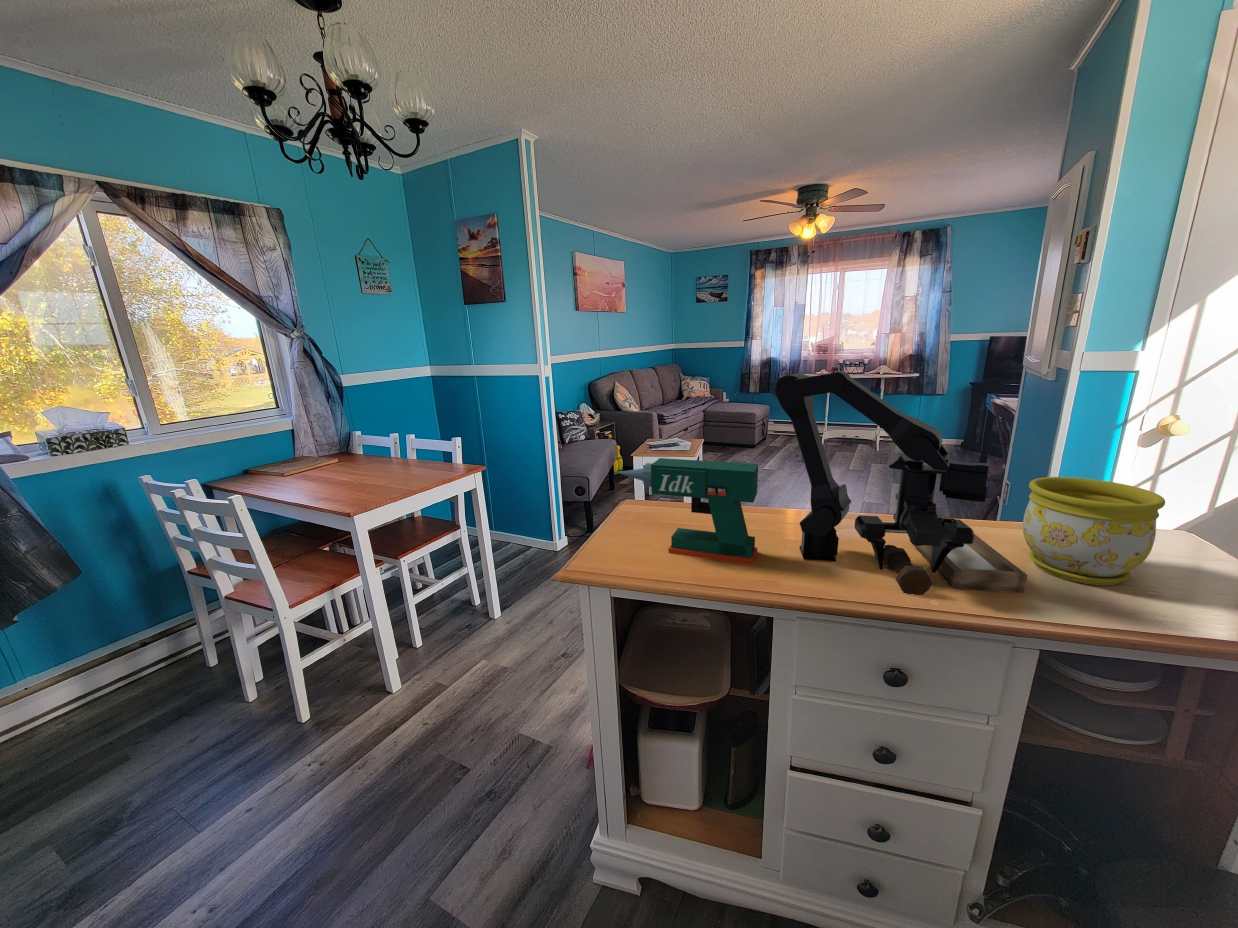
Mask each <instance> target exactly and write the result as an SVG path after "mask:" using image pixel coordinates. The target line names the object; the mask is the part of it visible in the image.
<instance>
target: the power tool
mask: <svg viewBox="0 0 1238 928" xmlns="http://www.w3.org/2000/svg"><path fill="white" fill-rule="evenodd" d="M615 474H619V475H622V476H625V477H629V478H632V479H635V480H639V481H640V482H641V481H642V484H643V485H644V487H647V488H648V487H650V489H651V494H652V495H660V496H661V495H663V496H664V495H665V496H673V497H674V496H675V497H687V498H690V499H691V501H690V502H691V505H690V506H691V507H690V508H691V509H690V510H691V513H695V514H702V515H703V514H704V515H705V514H706V515H711V518H712V523H713V526H714V530H715V531H711V530H710V531H708V530H700V529H691V528H683V527H678V528H676V530H675V531H674V533H673V534H672V536H671V544H670V546H669V547H668V549H667V550H668V554H673V555H679V556H680V555H681V556H687V557H688V556H689V557H696V558H702V559H708V560H709V559H710V560H717V561H725V562H731V563H740V564H747V565H753V566H754V565H755V561H756V558H757V555H758V547H756V546H755V545H756V536H752V535H751V536H750V535H749V533H748V528H747V524H746V519H745V515H744V512H743V507H742V503H749V504H750V503H752V504H753V503H755V499H756V497H757V494H758V481H759V480H758V479H759V463H749V462H748V463H746V462H730V461H713V460H700V459H699V460H698V459H697V460H696V459H683V458H682V459H681V458H664V457H659V458H658V459H657V460H655V461H654V462H653V463H649V462H648V463H647V462H646V463H645V464H644V467H642V468H637V469H636V468H635V469H631V470H630V469H629V470H623V471H616V472H615ZM702 499H707V502H705V501H702Z"/></svg>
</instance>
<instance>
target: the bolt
mask: <svg viewBox="0 0 1238 928" xmlns="http://www.w3.org/2000/svg"><path fill="white" fill-rule="evenodd" d="M911 562H912V560H911V558H910V556H909V554H908V553H907V551H906V550H905V549H904V548H902V547H897V546H896V545H893V544H885V545H884V564H885V566H886V567H887V569H888V570H889V571H894V572H895V574H896V576H895V577H894V579H895V581H896V583H897V584H898V586H899V588H900V589H901V591H902V593H903V594H905V593H906V594H905V595H911V594H914V595H913V596H923V595H926V593H927V592H928V591H929V590H930V589H931V587H932V585H933V584H934V583H933V580H932V578H931V576H930V575H929V573H928V571H927V570H926V567H924V566H918V565H913V564H912V563H911Z"/></svg>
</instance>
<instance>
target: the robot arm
mask: <svg viewBox="0 0 1238 928" xmlns="http://www.w3.org/2000/svg"><path fill="white" fill-rule="evenodd" d="M823 394H834V395H835V396H837V397H838V398H839V399H841V400H843V401H844V402H845V403H847V405H849V406H851V408H853V409H855V411H857V412H859V413H861V414H862V415H863V416H864V417H866V418H867V419H868V420H870V421H871V422H872V423H874V424H875V425H877V426H878V427H879V428H881V429H882V430H883V431H884V432H885V433H886V434H887V435H888V436H889V438H890V439H891V441H892V442H893V444H895V445H896V447H898V449H899V450H900V451H901V452H903V454H900V455H899V456H898V458H896V459H895V460H893V461H891V463H890V464H889V466H888V467H889V469H892V470H900V475H899V481H898V482H899V483H898V484H899V485H898V490H897V491H898V492H897V493H895V500H896V507H895V508H896V510H895V513H893V518H892V519H893V520H894V522H887V521H885V522H883V520H882V519H881V518H880V517H879V516H878V515H863V514H862V515H858V516H857V517H856V518H855V520H854V529H855V531H856V532H857V534H858V535H859V537H860V538H861V539H864V540H866V541H867V542H868V543H870V544H871V546H872V549H873V554H874V558H875V559H876V562H877V566H878V568H879V570H883V568H884V564H885V562H884V548H885V547H884V546H885V545H886V543H887V541H886V540H885V539H884V537H885V536H886V533H887V534H888V533H892V534H907V535H908V538H909V542H910V544H911V543H912V544H913V545H916V546H922V545H928V546H933V547H932V555H931V565H930V571H931V572H932V573H933V574H935V573H936V572H937V569H938V568H939V566H940V565H941V563H942V562H943V560H944V559H945V557H946V556H947V555H948V554H949V553H950V551H951V550H953V549H955V548H958V547H963V546H964V544H972V543H973V540H974V534H975V532H974V529H973V528H971V527H970V526H969V525H967V524H966V523H965V522H963V521H962V520H961V519H956V518H953V517H952V518H951V517H950V518H949V517H939V516H938V514H937V503H935V501H934V500H935V493H936V486H937V479H938V475H940V476H941V477H940V481H939V490H938V491H939V493H941V492H942V496H945V499H950V500H951V499H952V500H958V501H965V502H973V503H980V504H985V502H986V497H987V493H988V490H987V489H988V483H989V481H988V475H989V474H988V473H989V467H990V464H989V463H986V462H973V463H972V462H961V461H954V460H953V458H952V456H951V454H950V453H949V452H948V451H947V449H946V448H945V447H944V445H943V434H942V433H941V431H940V430H939V429H938V428H937V427H935V426H933V425H932V424H929V423H927V422H925V421H923V420H921V419H919V418H915V417H913V416H911V415H908V414H906V413H904V412H901V411H899V410H898V409H897V408H895V407H894V406H892V405H891V404H890V403H888V402H887V401H885V400H884V399H883V398H881V397H880V396H878V395H877V394H875V393H874V392H872V391H871V390H870V389H868V388H867V387H866V386H864V385H862V384H861V383H860V382H858V381H857V380H855V379H854V378H852V377H851V376H850V375H849V373H848V372H846V371H844V370H838V371H835V372H834V371H833V372H831V373H826V374H824V373H823V374H818V375H812V376H809V375H808V376H807V375H806V374H804V373H801V372H800V373H799V372H798V373H793V374H789V375H784V376H782V377H781V378H780V379H778V380H777V381H776V384H775V385H774V395H775V397H776V399H777V402H778V403H779V406H780V407H781V409H782V411H783V412H784V413H785V414H786V415H787V418H789V420H790V422H791V423H792V427H793V429H794V433H795V436H796V440H797V443H798V447H799V449H800V453H801V456H802V460H803V463H804V466H805V470H806V473H807V476H808V479H809V484H810V499H809V500H810V508H811V509H810V510H811V511H810V512H809V513H808V514H807V515H806V516H805V517H804V518H802V520H800V521H799V526H800V529H801V542H800V543H801V545H799V550H800V553H801V556H802V558H803V560H805V561H815V562H816V561H817V562H818V561H819V562H835V563H836V562H837V557H836V556H838V550H839V549H838V548H839V540H840V539H839V536H838V534H837V529H836V528H835V527H837V526H838V525H840V524H841V522H842V521H843V520H844V519H845V517H846V516H847V514H848V513H849V511H850V504H851V503H852V499H850V498H849V494H848V488H847V484H846V483H843V484H841V485H839V484H838V483H837V481H836V480H835V478H834V477H833V474H832V470H831V467H830V464H829V460H828V456H827V455H826V454H827V453H826V452H825V451H826V450H825V447H824V444H823V440H822V437H821V435H820V431H819V427H818V424H817V422H816V417H815V415H814V414H815V413H814V408H815V396H818V395H823ZM906 457H907V458H906ZM908 458H909V459H908ZM912 544H911V545H912ZM913 545H912V546H913Z"/></svg>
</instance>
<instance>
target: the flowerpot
mask: <svg viewBox="0 0 1238 928" xmlns="http://www.w3.org/2000/svg"><path fill="white" fill-rule="evenodd" d="M1028 487H1029V489H1030V490H1031V493H1030V494H1029V495H1028V497H1029V501H1028V504H1027V507H1026V509H1025V512H1024V516H1023V522H1022V534H1023V537H1024V540H1025V542H1026V545H1027V546H1028V548H1029V549H1030V551H1029V552H1028V555H1027V556H1028V557H1029V558H1030V560H1031V561H1032V562H1033V564H1034V565H1035V567H1037V568H1038V569H1039V570H1042V571H1043V572H1045V573H1047V574H1050V575H1052V576H1054V577H1057V578H1060V579H1063V580H1067V581H1071V582H1074V583H1080V584H1084V585H1085V584H1086V585H1092V586H1115V585H1118V584H1120V583H1122V582H1124V581H1127V580H1129V579H1130V578H1131V572H1130V571H1133V570H1134V569H1136V568H1137V567H1139V566H1140V565H1141V564H1142V563H1144V562H1145V561H1146V559H1147V558H1148V557H1149V555H1150V553H1151V552H1152V550H1153V547H1154V543H1155V541H1156V533H1157V519H1158V518H1159V516H1160V514H1159V512H1158V511H1159V510H1160V509H1163V507H1165V505H1166V499H1165V497H1162V496H1161V495H1159V494H1158V493H1156V492H1153V491H1151V490H1148V489H1144V488H1141V487H1137V486H1134V485H1130V484H1124V483H1119V482H1114V481H1107V480H1103V479H1102V480H1101V479H1092V478H1086V477H1085V478H1083V477H1070V476H1048V477H1046V476H1044V477H1038V478H1035V479H1031V481H1029V484H1028Z"/></svg>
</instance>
